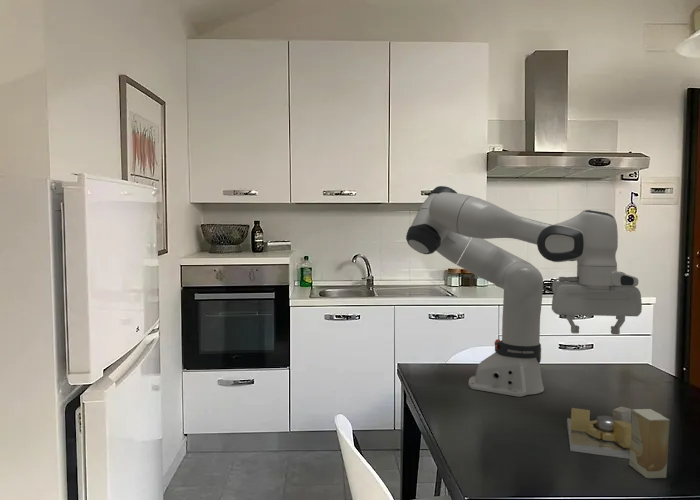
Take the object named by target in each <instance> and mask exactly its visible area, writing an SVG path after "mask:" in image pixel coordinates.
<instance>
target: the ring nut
mask: <svg viewBox="0 0 700 500" xmlns="http://www.w3.org/2000/svg"><path fill="white" fill-rule="evenodd" d="M570 412H571V414H570V419H571V430H577V431H584V432H587V433H588V434H589V435H591V436H594V437H596V438H598V439H602V440H608V441H615V442H616V443H618V444H619V445H620V446H622V447H623V448H630V445H631V426H632V408H628V407H625V406H619V407H617V408H614V409H612V417H615V418H617V419H619V420H620V421H614V431H613V433H610V432H603V431H601V430H598V429H596V426H597V419H595V420H590V419H591V418H590V416H591V410H589V409H584V408H575V407H571V410H570Z"/></svg>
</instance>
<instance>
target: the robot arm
mask: <svg viewBox="0 0 700 500" xmlns="http://www.w3.org/2000/svg"><path fill="white" fill-rule="evenodd" d="M487 239H488V240H489V239H490V240H493V239H513V240H518V241H522V242H525V243H528V244H533V245H536V246H537V250H538V252H539V254H540V255H541V256H542V257H543V258H544V259H546V260H548V261H550V262H553V263H563V262H575V261H576V263H577V265H576V276H558V277H557V278H555V279H554V280H553V281H552V283H551V291H552V293H553V294H552V300H551V301H552V302H551V311H552V313H554V314H555V315H559V316H564V315H565V316H566V320H567V322H568V323H569V326H570V332H571V334H579V333H580V326H579V325H577V324H575V322H574V320H575V319H576V316H597V317H598V316H600V317H601V316H603V317H604V316H605V317H615V319H616V322H615V324H614V325H611V326H610V334H612V335H618V336H619V335H620V334H621V333H620V332H621V330H620V329H621V328H622V326H623V325H624V323H625V322H626V317H639V316H640V315H641V313H642V312H643V311H642V309H643V307H642V304H643V303H642V295H641V291H640V289H639V288H638V287H637V286H638V285H639V278H638V277H636V276H633V275H631V274H626V273H625V272H623V271H618V263H617V259H616V254H617V252H618V251H617V250H618V247H619V245H618V244H619V242H618V241H619V240H618V239H619V236H618V223H617V220H616V218H615V217H614V216H613V215H612V214H610V213H608V212H604V211H598V210H591V209H587V210H582V211H581V212H580V213H579V214H577V215H575V216H573V217H571V218H569V219H566V220H564V221H562V222H558V223H554V224H551V223H546V222H543V221H538V220H534V219H531V218H526V217H523V216H520V215H517V214H515V213H513V212H511V211H508V210H507V209H504V208H503V207H500V206H498V205H496V204H493V203H491V202H489V201H487V200H484V199H482V198H480V197H479V198H478V197H475V196H473V195H468V194H463V193H458V192H457V191H456V190H454V189H453V188H451V187H450V186H446V185H444V186H443V185H440V186H436V187H435V188H434V189H432V190H431V192H430V193H428V196H427V197H426V199H425V200H424V201H423V203H421V205H420V207H419V209H418V210H417V212H416V215H415V216H414V219H413V221H412V223H411V225H410V226H409V227H408V229H407V233H406V236H405V240H406V243H407V244H408V246H409V247H411V249H412V250H414V251H416V252H417V253H419V254H423V255H432V254H434V253H435V252H437V253H438V254H440V255H441V256H442V257H443V258H445V259H447V260H448V261H449V262H451V263H452V264H454V265H456V266H458V267H460V268H462V269H464V270H466V271H467V272H469V273H471V274H472V275H474V276H476V277H478V278H480V279H483V280H484V281H487V282H489V283H491V284H493V285H496V286H498V287H499V288H501V289H503V298H502V299H503V301H502V304H503V305H502V321H501V322H502V324H501V326H502V327H501V339H495V341H494V353H492V354H491V355H489V356H487V357H486V358H484V359H483V360H481V361H480V363H479V364H478V366H477V367H476V372H475V375H472V376H471V377H469V380H468V384H467V385H468V387H469V388H470V389H472V390H475V391H476V390H477V391H483V392H488V393H495V394H500V395H505V396H513V397H519V398H520V397H524V396H529V395H537V394H541V393H543V392H544V391H545V388H544V385H543V384H544V383H543V379H542V373H541V365H540V363H541V361H542V344H541V343H540V335H541V334H540V333H541V332H540V331H541V329H540V328H541V314H542V313H541V312H542V302H543V291H544V289H543V288H544V278H543V275H542V273H541V272H540V270H539V269H538V268H537V267H536V266H534V265H533V264H532V263H531V262H529V261H527V260H524V259H523V258H522V257H520V256H517V255H515V254H513V253H511V252H509V251H507V250H505V249H503V248H501V247H500V246H497V245H496V244H494V243H492V242H490V241H488V240H487Z"/></svg>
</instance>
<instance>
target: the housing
mask: <svg viewBox="0 0 700 500" xmlns="http://www.w3.org/2000/svg"><path fill="white" fill-rule="evenodd" d="M596 420H597V426H596V429H598V430H601V431H603V432H610V433H613V431H614V421H620V420H619V419H617V418H615V417H613V416H610V415H598V416H597V417H596ZM566 427H567V428H566V429H567V434H568V441H569V442H568V443H569V449H570V452H577V453H583V454H589V455H590V454H591V455H599V456H606V457H611V458H612V457H614V458H620V459H628V460H630V448H623V447H622V446H620V445H619V444H618V443H616V442H615V441H608V440H602V439H598V438H596V437H594V436H591V435H589V434H588V433H587V432H584V431H577V430H571V417H570V418H569V417H567V419H566Z"/></svg>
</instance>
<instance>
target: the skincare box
mask: <svg viewBox="0 0 700 500" xmlns="http://www.w3.org/2000/svg"><path fill="white" fill-rule="evenodd" d="M670 421H671V420H670V419H669V418H667V417H666V416H664V415H662V414H661V413H660V412H657V411H655V410H653V409H652V408H641V409H640V408H635V409H633V408H631V425H632V426H631V445H630V459H629V463H628V464H629V465H630V467H631V468H633V469H634V470H635V471H636V472H638V473H639V474H641V475H642V476H643V477H644V478H646V479H666V478H667V471H668V470H667V468H668V455H669V454H668V453H669V440H670V439H669V435H670Z"/></svg>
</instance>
